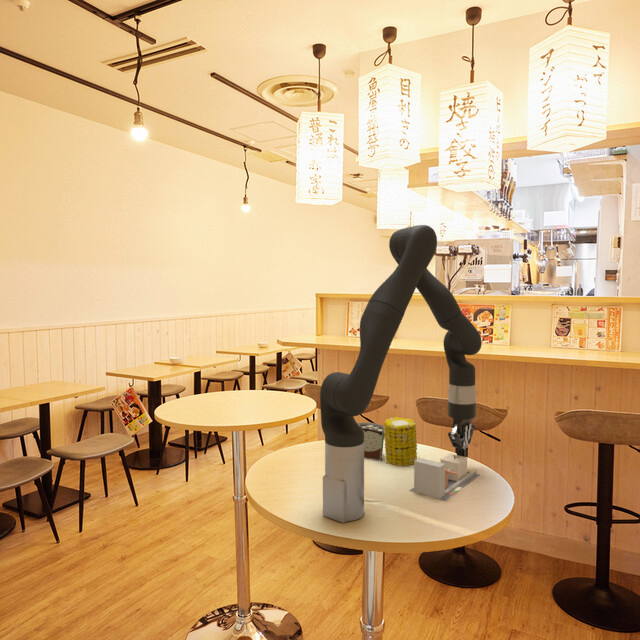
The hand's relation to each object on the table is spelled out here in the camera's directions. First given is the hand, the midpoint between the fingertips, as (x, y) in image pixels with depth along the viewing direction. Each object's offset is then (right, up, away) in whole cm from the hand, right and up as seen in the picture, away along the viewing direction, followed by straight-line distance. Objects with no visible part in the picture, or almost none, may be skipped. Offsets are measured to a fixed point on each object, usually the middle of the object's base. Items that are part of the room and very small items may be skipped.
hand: (461, 460), depth 138 cm
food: (-16, -5, +10) cm, 19 cm away
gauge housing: (-4, -3, -5) cm, 7 cm away
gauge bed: (-6, -5, -7) cm, 11 cm away
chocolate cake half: (-24, -4, +19) cm, 30 cm away
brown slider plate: (-8, -4, -11) cm, 14 cm away
